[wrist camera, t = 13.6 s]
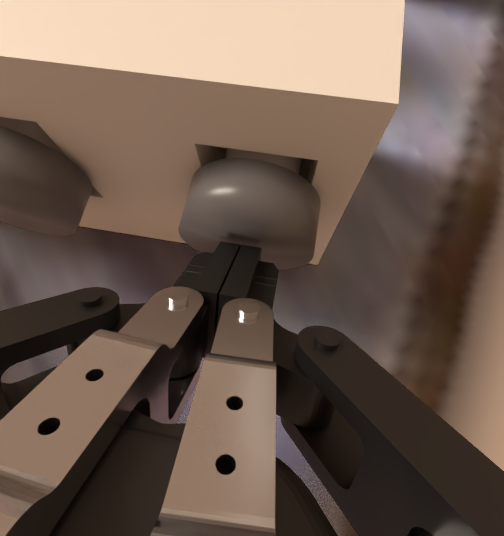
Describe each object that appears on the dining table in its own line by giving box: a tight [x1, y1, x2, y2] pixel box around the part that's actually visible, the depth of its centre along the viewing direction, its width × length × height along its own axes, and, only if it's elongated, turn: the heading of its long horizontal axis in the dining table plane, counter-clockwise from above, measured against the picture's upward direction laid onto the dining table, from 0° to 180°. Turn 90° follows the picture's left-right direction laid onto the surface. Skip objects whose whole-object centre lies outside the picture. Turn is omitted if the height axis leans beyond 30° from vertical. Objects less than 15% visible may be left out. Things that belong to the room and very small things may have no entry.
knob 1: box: [0, 117, 92, 236], centre depth 14 cm, size 9×5×5 cm, turn 170°
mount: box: [0, 0, 405, 265], centre depth 16 cm, size 9×26×12 cm, turn 80°
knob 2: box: [178, 148, 321, 270], centre depth 14 cm, size 9×5×5 cm, turn 170°
